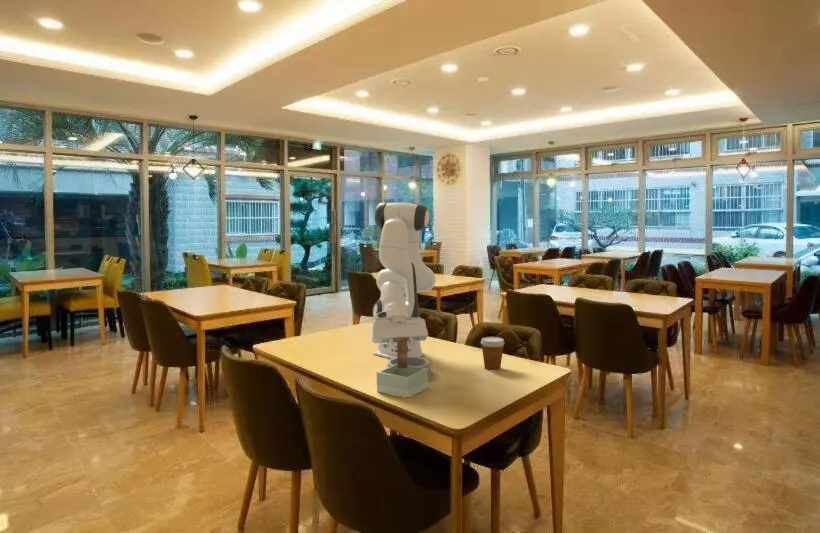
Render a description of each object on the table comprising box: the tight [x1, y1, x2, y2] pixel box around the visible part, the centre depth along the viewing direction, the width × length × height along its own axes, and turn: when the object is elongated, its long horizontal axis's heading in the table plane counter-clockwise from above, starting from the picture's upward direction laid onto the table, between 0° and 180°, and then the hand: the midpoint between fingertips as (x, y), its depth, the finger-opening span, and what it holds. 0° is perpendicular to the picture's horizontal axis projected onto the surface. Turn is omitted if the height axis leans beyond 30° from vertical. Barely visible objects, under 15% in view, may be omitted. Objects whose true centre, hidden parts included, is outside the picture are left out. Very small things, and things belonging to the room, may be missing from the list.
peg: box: [397, 338, 408, 368], centre depth 184 cm, size 4×4×10 cm
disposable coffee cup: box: [480, 336, 506, 371], centre depth 210 cm, size 10×10×12 cm
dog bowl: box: [386, 357, 433, 379], centre depth 205 cm, size 17×18×5 cm
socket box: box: [376, 364, 429, 398], centre depth 186 cm, size 13×13×7 cm
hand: (402, 350), depth 184 cm, fingers closed on peg, 4 cm apart
